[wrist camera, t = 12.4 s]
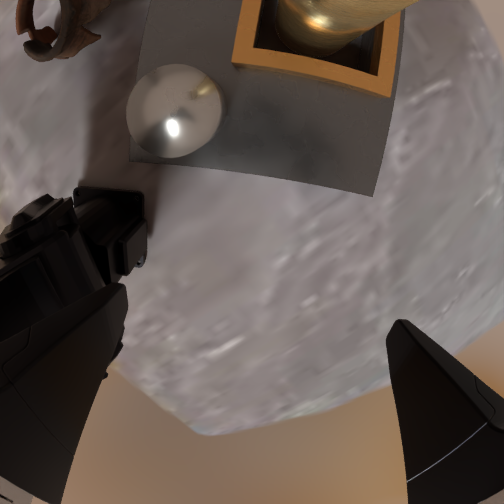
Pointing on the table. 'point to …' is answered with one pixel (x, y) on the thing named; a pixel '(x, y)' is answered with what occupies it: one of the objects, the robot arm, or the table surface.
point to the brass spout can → (330, 22)
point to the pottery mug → (71, 33)
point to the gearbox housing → (259, 98)
